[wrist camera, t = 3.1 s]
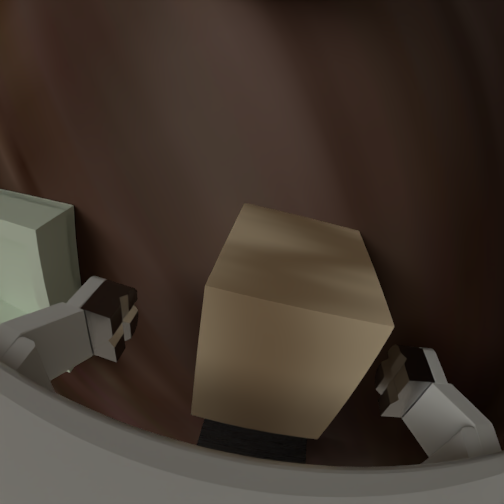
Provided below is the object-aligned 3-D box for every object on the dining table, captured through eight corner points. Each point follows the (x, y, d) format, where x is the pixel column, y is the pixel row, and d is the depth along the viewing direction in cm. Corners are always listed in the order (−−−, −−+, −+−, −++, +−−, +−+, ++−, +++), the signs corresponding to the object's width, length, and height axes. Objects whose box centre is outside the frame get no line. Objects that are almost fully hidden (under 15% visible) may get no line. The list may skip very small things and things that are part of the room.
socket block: (306, 429, 16) (304, 472, 14) (280, 464, 19) (276, 498, 16) (207, 409, 16) (194, 452, 14) (200, 448, 19) (191, 482, 17)
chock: (358, 230, 10) (394, 326, 6) (316, 336, 13) (317, 439, 8) (245, 202, 10) (205, 285, 6) (223, 315, 13) (190, 414, 8)
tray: (73, 205, 11) (35, 230, 9) (91, 341, 15) (70, 372, 13) (-39, 180, 12) (-69, 195, 9) (-16, 290, 15) (-37, 309, 13)
